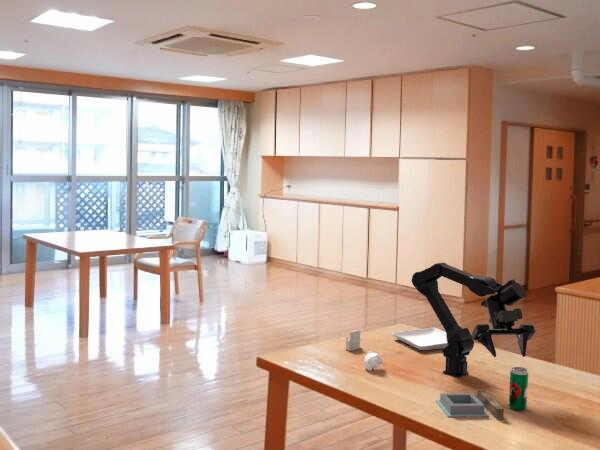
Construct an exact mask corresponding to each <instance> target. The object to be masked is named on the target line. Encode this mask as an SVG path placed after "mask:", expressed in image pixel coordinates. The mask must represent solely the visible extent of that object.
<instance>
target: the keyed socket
mask: <svg viewBox="0 0 600 450" xmlns="http://www.w3.org/2000/svg"><path fill="white" fill-rule="evenodd" d="M435 403H436V404H437V405H438V406H439V408H440V409H441V410H442V412H443V411H444V412H445V413H444V412H443V413H444V415H445V416H446V417H447V416H448V418H468V417H469V418H474V417H475V418H477V417H478V418H479V417H481V418H482V417H486V418H487V417H489V414H488V413H487V412H486V411H485V407H484V404H483V403H482V402H481V401H480V400H479V399H478V398H477V395H476V394H474V393H473V392H459V393H458V392H456V393H455V392H453V393H445V392H444V393H440V397H439V400H438V399H437V400H435Z"/></svg>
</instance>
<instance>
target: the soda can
mask: <svg viewBox="0 0 600 450" xmlns="http://www.w3.org/2000/svg"><path fill="white" fill-rule="evenodd" d="M509 372H510V373H509V390H508V406H509V408H510V409H511V410H513V411H517V412H520V411H522V412H523V411H525V410H526V409H528V408H527V406H528V405H527V404H528V388H529V387H528V385H529V372H528V369H527V368H526V367H522V366H514V367H513V366H512V367H511V370H510V371H509Z"/></svg>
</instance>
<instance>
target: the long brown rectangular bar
mask: <svg viewBox="0 0 600 450" xmlns="http://www.w3.org/2000/svg"><path fill="white" fill-rule="evenodd" d="M476 397H477V398H478V399H479V400H480V401H481V402H482V403H483V404H484V409H486V410H487V411H488V412H489V413H490V414H491V415H492V416H493V417H494V418H495V419H496V420H504V416H505V415H504V408H503V406H501V405H500V403H498V402H497V401H496V399H494V398H493V397H492V395H490V394H489V393H488V392H487V391H486V390H485V388H484V389H483V388H482V389H481V388H479V389H477V390H476Z"/></svg>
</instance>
